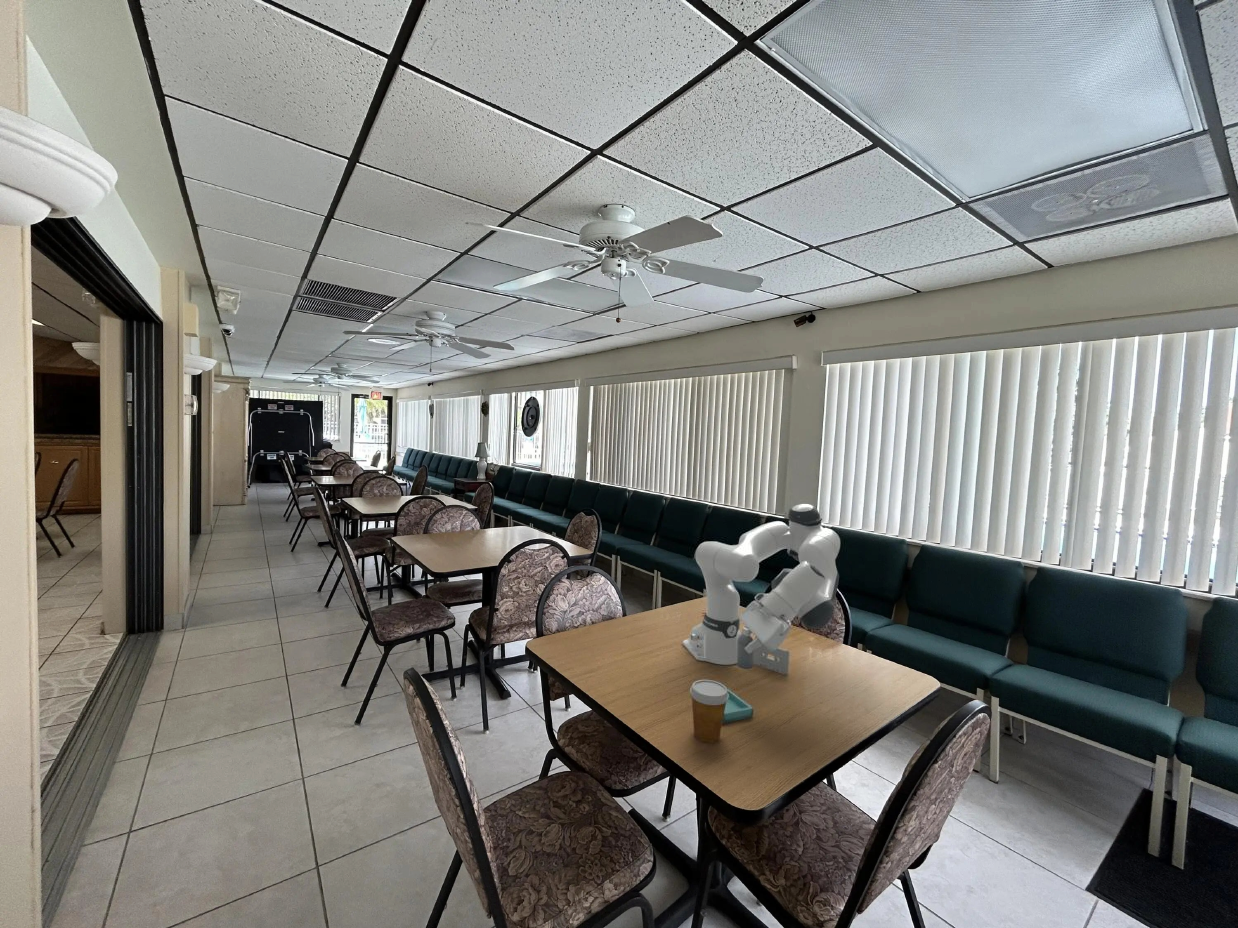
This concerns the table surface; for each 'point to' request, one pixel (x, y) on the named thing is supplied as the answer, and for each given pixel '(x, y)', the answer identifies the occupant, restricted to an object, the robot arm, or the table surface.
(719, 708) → the disposable coffee cup
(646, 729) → the table surface
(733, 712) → the tray
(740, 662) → the gray bottle
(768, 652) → the cassette
